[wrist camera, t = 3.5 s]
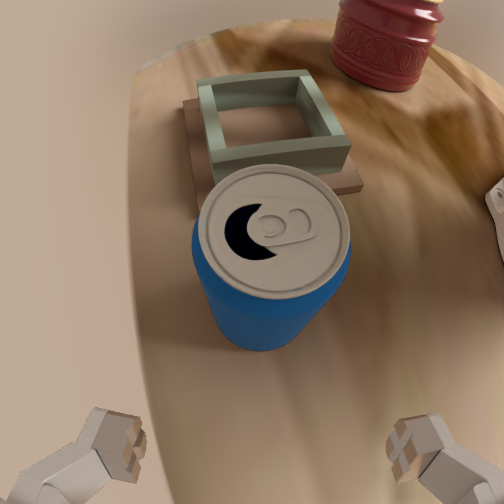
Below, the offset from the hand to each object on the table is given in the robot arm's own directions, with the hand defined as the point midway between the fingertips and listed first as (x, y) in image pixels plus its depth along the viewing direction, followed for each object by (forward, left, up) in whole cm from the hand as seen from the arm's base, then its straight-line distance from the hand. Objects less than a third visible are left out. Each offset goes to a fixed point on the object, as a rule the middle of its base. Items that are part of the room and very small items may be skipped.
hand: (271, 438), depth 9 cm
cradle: (-16, -16, -12) cm, 26 cm away
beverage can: (-5, -5, -12) cm, 14 cm away
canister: (-39, -18, -12) cm, 45 cm away
